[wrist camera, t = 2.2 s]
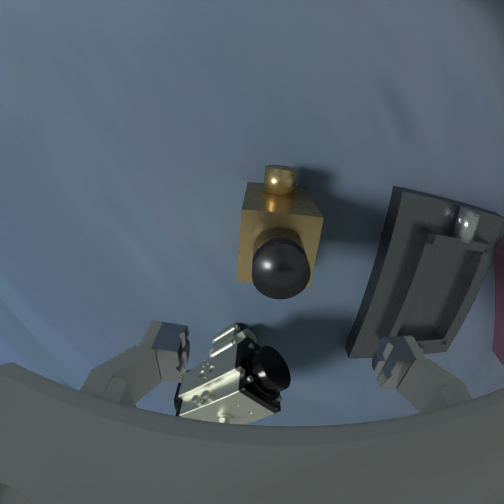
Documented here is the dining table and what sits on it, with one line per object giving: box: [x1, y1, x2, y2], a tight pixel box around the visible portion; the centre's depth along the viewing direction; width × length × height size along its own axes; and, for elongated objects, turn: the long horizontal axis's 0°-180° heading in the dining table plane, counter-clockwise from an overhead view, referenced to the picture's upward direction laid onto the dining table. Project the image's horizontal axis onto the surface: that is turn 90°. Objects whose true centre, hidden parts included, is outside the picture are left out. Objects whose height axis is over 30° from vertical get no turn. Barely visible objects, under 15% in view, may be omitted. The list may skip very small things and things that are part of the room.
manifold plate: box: [345, 186, 504, 358], centre depth 26 cm, size 20×16×4 cm
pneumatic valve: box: [174, 324, 291, 425], centre depth 26 cm, size 6×12×12 cm, turn 131°
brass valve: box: [237, 165, 324, 299], centre depth 20 cm, size 9×5×11 cm, turn 175°
